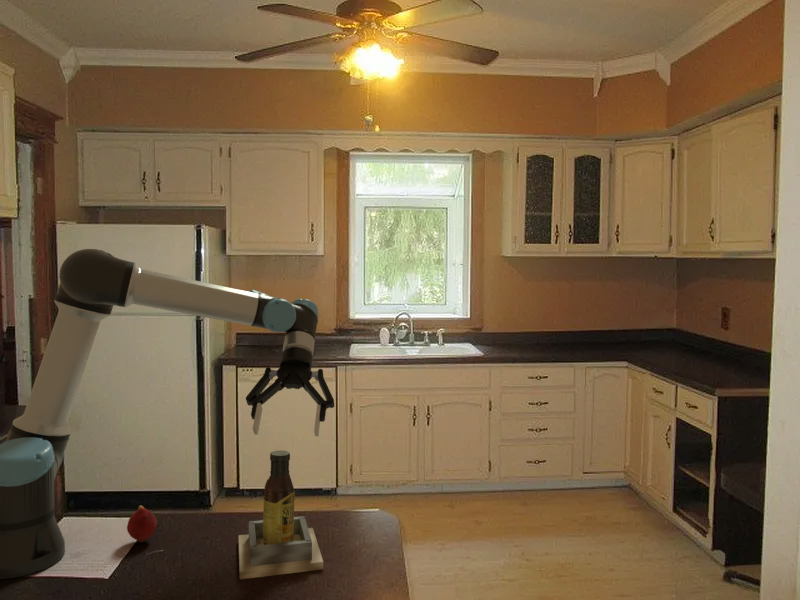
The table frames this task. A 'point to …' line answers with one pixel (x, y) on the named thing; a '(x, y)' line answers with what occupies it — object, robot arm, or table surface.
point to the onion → (141, 524)
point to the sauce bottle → (278, 501)
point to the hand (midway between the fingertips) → (285, 432)
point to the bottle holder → (278, 552)
